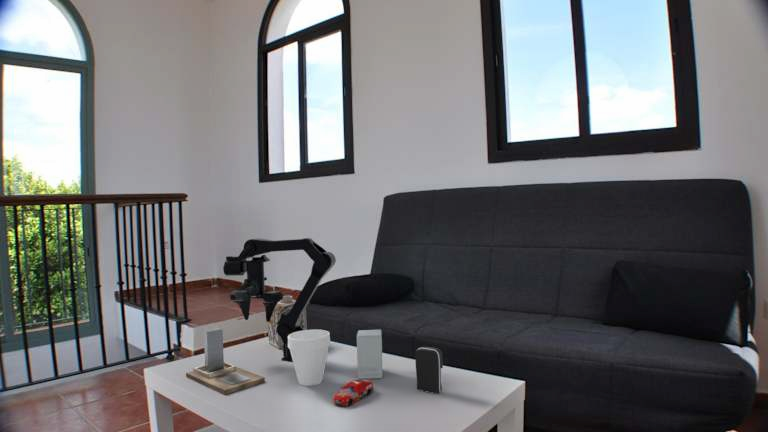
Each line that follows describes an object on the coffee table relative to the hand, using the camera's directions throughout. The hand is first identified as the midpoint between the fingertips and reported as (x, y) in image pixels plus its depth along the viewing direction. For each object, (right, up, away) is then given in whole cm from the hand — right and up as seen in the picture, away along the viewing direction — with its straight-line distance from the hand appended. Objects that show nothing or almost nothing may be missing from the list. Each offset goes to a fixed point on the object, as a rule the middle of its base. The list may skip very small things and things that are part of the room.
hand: (257, 320), depth 159 cm
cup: (+22, -12, -24) cm, 35 cm away
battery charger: (+56, -11, -35) cm, 67 cm away
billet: (-9, -12, -15) cm, 22 cm away
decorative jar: (+7, -13, +18) cm, 23 cm away
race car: (+36, -12, -38) cm, 53 cm away
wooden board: (-4, -13, -20) cm, 24 cm away
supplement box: (+40, -12, -20) cm, 46 cm away
